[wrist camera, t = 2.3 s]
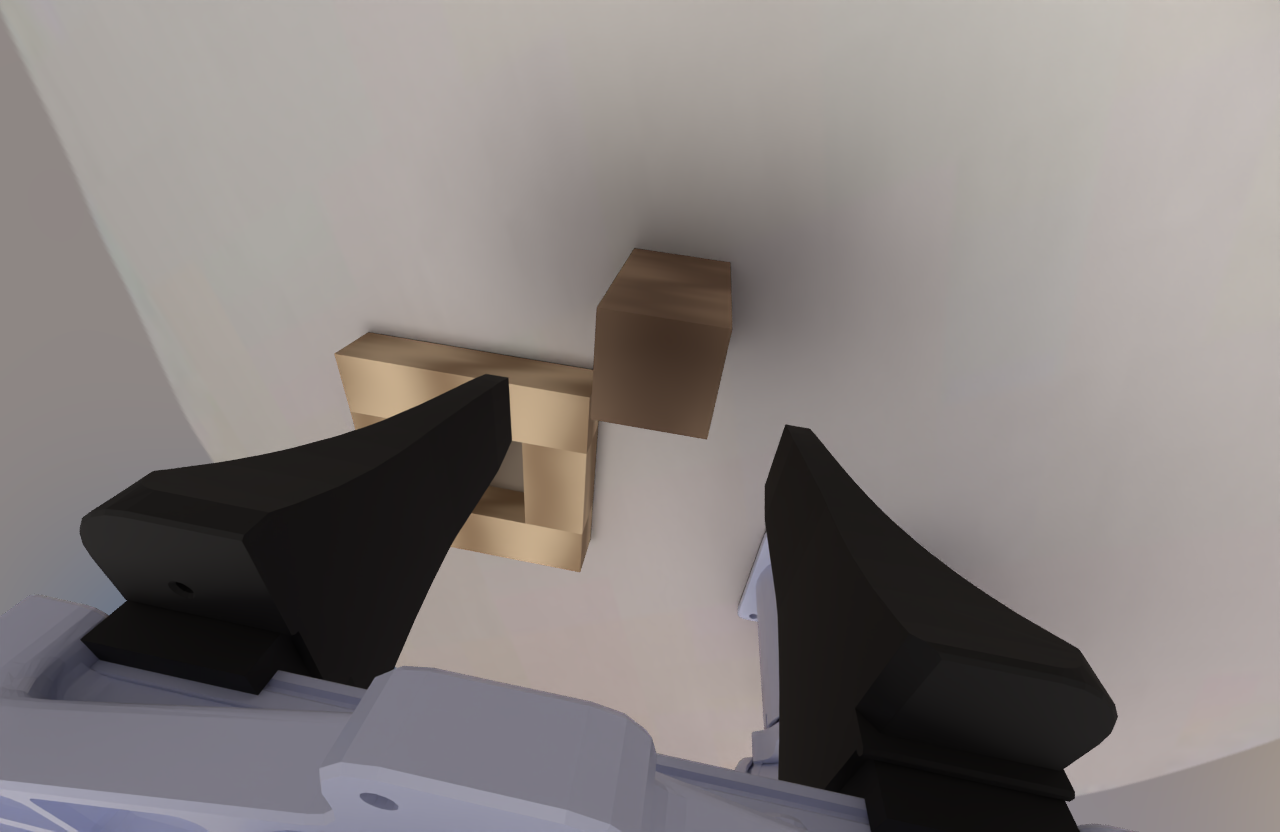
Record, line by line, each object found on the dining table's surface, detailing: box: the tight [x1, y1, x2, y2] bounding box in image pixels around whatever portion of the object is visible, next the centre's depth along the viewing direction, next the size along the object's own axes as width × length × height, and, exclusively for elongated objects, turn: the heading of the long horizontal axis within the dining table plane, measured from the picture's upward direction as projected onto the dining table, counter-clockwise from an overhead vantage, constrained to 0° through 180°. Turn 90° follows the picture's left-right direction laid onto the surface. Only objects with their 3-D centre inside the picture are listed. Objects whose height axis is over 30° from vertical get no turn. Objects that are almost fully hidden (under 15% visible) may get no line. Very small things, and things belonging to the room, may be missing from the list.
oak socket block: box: [335, 332, 598, 572], centre depth 26 cm, size 12×12×2 cm
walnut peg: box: [590, 248, 732, 439], centre depth 18 cm, size 4×4×7 cm
